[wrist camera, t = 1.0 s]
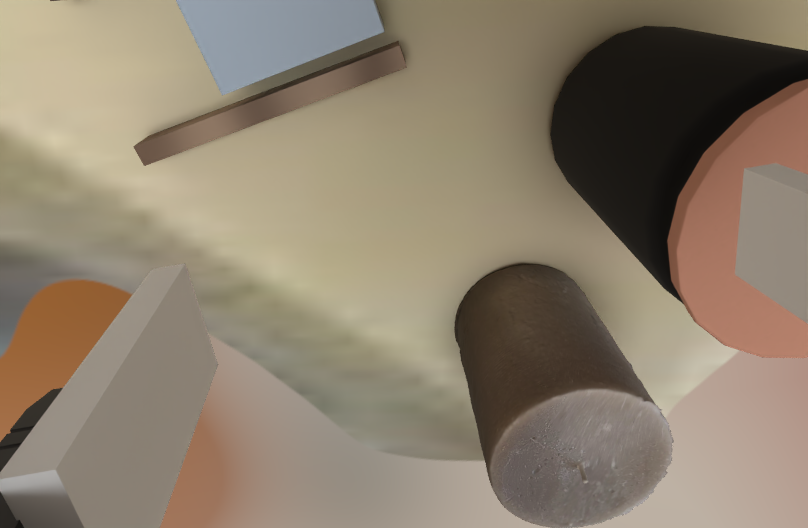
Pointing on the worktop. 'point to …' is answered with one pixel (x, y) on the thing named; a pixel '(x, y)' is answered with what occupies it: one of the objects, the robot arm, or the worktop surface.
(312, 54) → the slate block
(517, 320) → the pillar candle
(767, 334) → the coffee jar
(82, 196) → the worktop surface
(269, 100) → the walnut channel
